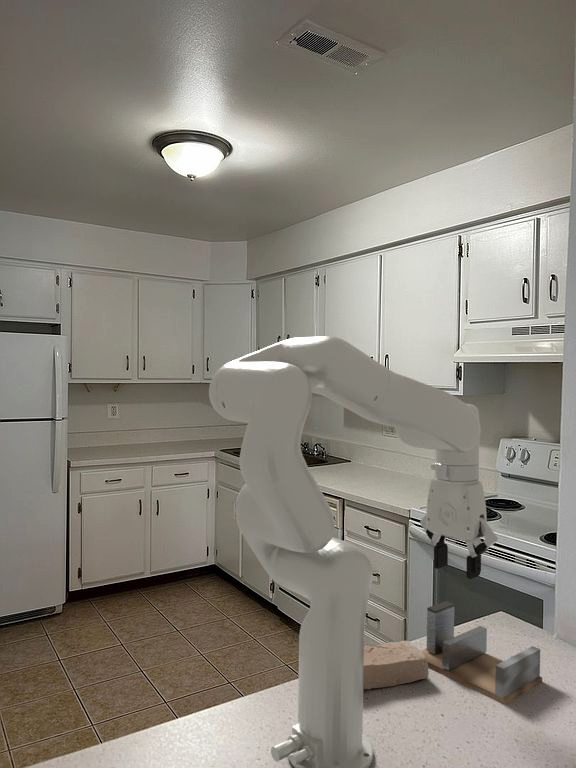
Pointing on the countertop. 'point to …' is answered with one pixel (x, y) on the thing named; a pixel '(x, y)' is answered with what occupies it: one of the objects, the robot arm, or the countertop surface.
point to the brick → (393, 664)
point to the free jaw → (452, 637)
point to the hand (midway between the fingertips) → (456, 570)
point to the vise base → (494, 673)
